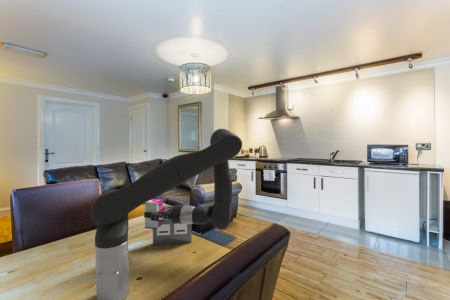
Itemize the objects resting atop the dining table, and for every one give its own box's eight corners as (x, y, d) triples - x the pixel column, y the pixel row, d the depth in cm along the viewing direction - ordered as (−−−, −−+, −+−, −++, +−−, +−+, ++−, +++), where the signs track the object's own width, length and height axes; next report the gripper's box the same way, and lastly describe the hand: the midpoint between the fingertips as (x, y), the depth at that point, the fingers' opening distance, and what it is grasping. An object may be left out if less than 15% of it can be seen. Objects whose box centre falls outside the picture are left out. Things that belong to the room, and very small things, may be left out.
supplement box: (157, 229, 95) (156, 202, 95) (144, 228, 96) (143, 201, 96) (163, 224, 101) (163, 199, 101) (151, 223, 102) (151, 198, 102)
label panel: (191, 242, 109) (191, 213, 108) (152, 245, 106) (152, 215, 106) (191, 240, 111) (191, 212, 111) (153, 243, 109) (153, 214, 108)
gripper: (190, 201, 102) (156, 199, 106) (177, 210, 88) (138, 208, 92) (190, 217, 102) (157, 215, 106) (177, 229, 88) (139, 226, 92)
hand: (148, 212), depth 99 cm, fingers closed on supplement box, 5 cm apart
